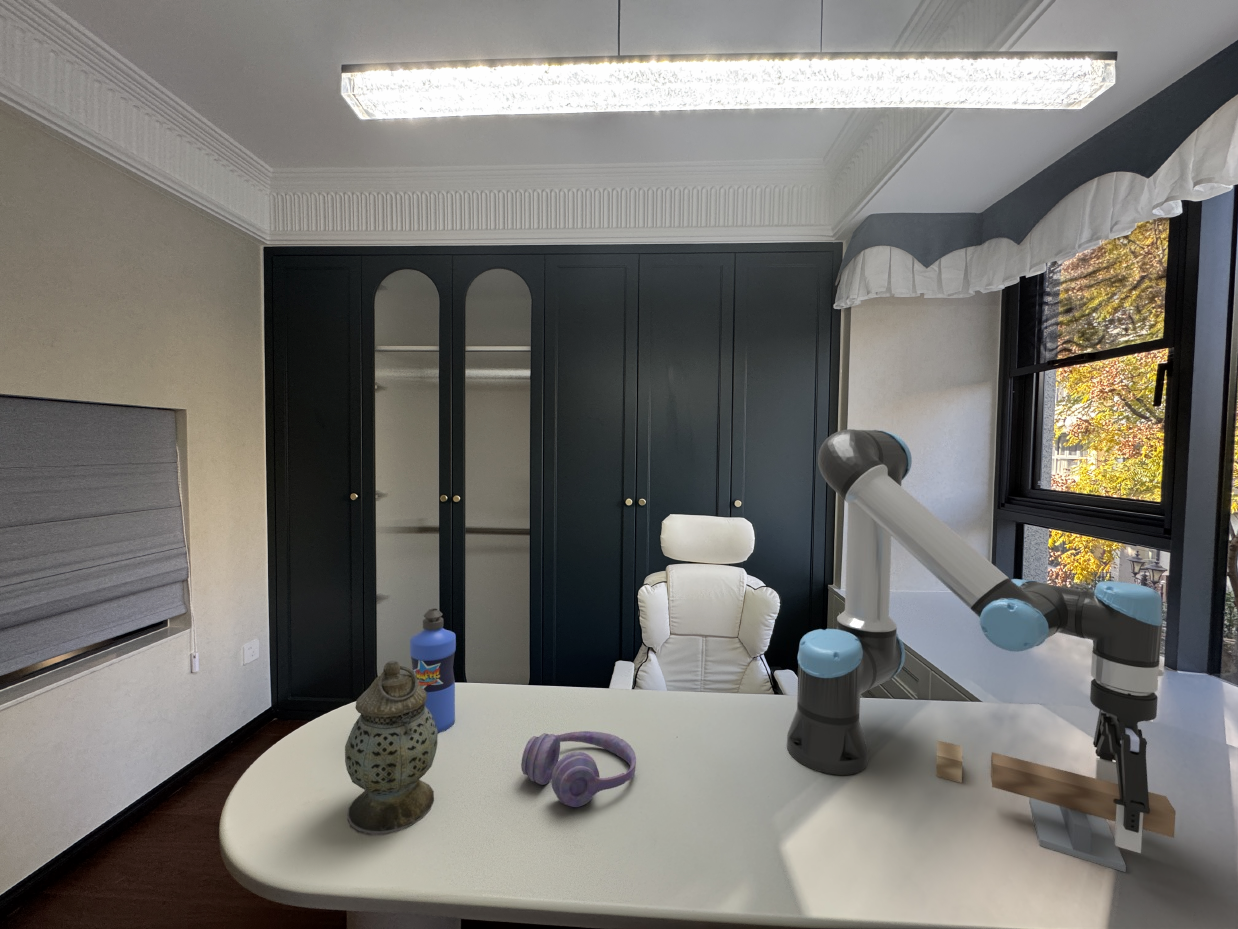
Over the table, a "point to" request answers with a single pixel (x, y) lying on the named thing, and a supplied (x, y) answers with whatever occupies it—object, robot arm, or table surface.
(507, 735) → the table surface
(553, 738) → the headphones
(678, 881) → the table surface
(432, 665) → the water bottle
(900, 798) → the table surface
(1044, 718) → the table surface
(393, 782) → the lantern
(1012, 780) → the walnut bar
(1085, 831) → the fulcrum
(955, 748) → the block
